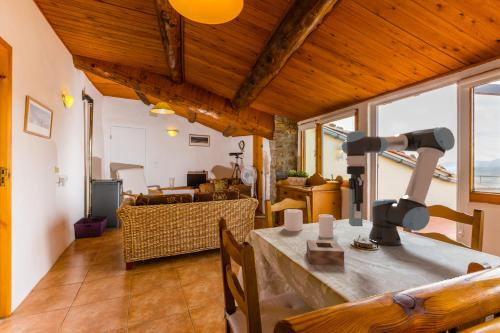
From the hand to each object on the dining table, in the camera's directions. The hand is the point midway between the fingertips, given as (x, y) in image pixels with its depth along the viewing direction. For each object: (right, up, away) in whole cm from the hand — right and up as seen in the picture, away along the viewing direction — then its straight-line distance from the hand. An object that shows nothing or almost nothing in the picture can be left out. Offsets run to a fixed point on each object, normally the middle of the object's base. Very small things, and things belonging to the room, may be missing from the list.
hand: (355, 216), depth 108 cm
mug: (-1, -19, +34) cm, 39 cm away
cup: (-19, -18, +49) cm, 56 cm away
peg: (0, -4, 0) cm, 4 cm away
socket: (-14, -19, 0) cm, 24 cm away
